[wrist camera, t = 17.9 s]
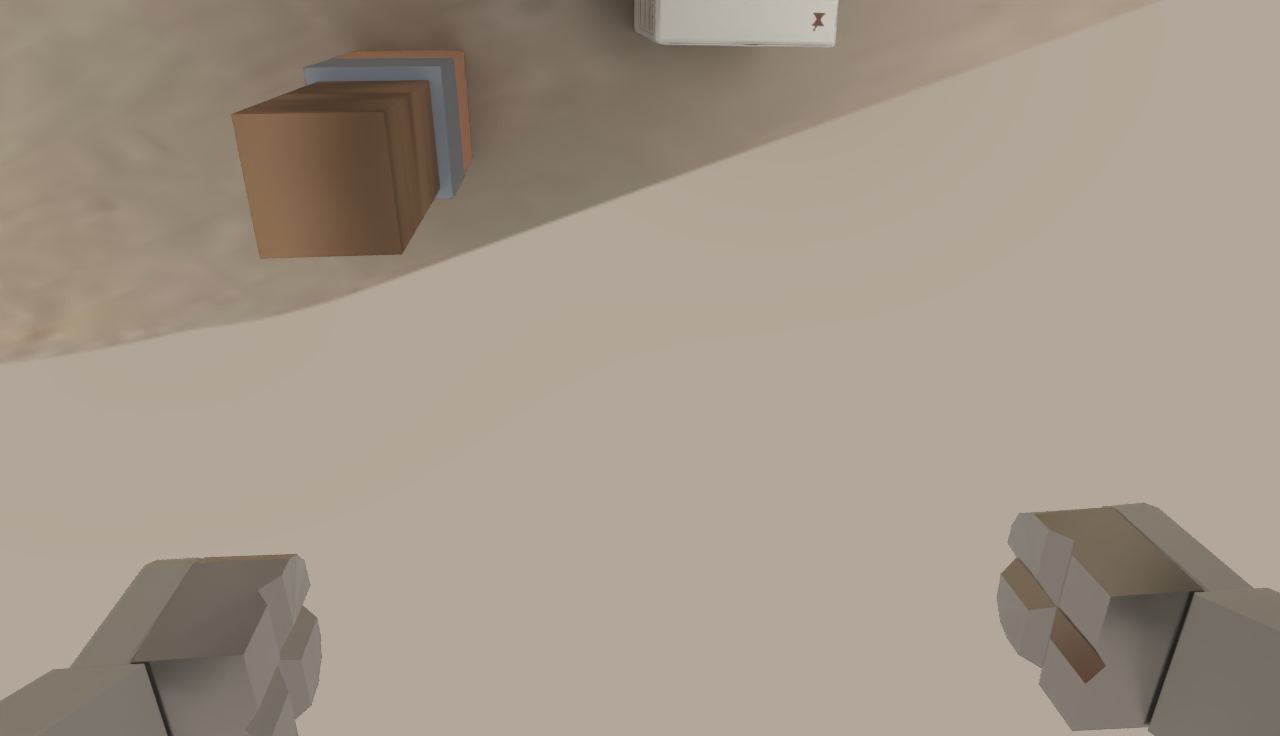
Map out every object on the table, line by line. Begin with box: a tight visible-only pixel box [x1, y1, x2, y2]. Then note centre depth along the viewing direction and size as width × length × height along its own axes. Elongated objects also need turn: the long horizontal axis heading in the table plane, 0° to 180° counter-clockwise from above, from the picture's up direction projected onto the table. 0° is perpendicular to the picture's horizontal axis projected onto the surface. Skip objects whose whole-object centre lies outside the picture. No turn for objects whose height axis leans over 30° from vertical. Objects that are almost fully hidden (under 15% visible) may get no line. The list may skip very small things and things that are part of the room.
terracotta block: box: [332, 50, 473, 173], centre depth 42 cm, size 6×6×5 cm
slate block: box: [304, 58, 464, 199], centre depth 37 cm, size 6×6×5 cm
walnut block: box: [231, 80, 440, 258], centre depth 31 cm, size 4×4×10 cm
